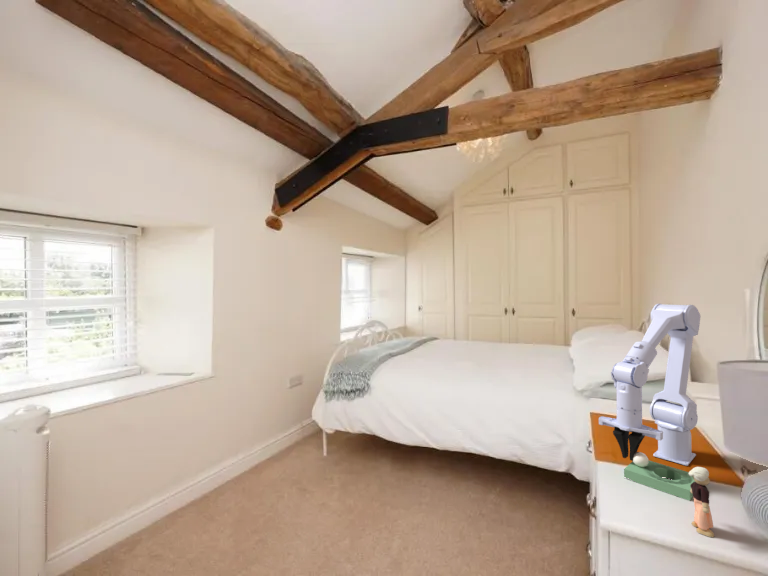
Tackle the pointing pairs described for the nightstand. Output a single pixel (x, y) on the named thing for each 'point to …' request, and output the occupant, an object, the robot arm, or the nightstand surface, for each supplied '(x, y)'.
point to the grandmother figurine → (701, 501)
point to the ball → (640, 459)
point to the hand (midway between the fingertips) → (629, 458)
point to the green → (653, 478)
